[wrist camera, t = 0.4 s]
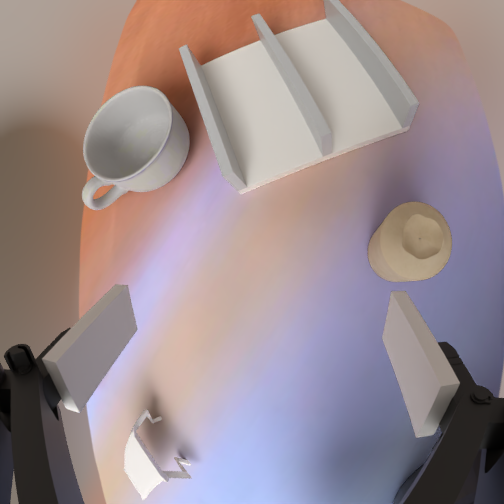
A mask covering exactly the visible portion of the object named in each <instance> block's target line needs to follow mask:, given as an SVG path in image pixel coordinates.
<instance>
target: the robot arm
mask: <svg viewBox="0 0 504 504" xmlns="http://www.w3.org/2000/svg"><path fill="white" fill-rule="evenodd" d="M136 331H137V325H136V321H135V317H134V312H133V308H132V303H131V299H130V294H129V289H128V285H117V284H115V285H114V286H113V287H112V288H111V289H110V290H109V291H108V292H107V293H106V294H105V295H104V296H103V297H102V298H101V299H100V300H99V301H98V302H97V303H96V304H95V305H94V306H93V307H92V308H91V309H90V310H89V311H88V312H87V313H86V314H85V315H84V316H83V317H82V318H81V319H80V320H79V321H78V322H77V323H76V324H75V325H74V326H73V327H72V328H69V329H67V330H65V331H63V332H62V333H61V334H60V335H59V336H58V337H57V338H56V339H55V340H54V341H53V342H52V343H51V344H50V345H49V346H48V347H47V348H46V349H45V350H44V351H43V352H42V353H41V354H40V355H39V356H38V357H37V359H35V358H34V356H33V353H32V351H31V349H30V347H29V346H28V345H26V344H18V345H15V346H13V347H11V348H10V349H9V350H7V351H6V353H5V355H4V358H5V360H6V362H7V364H8V366H9V368H10V370H4V369H3V367H2V365H1V363H0V504H10V499H11V488H12V479H13V471H14V474H15V482H16V489H17V495H18V501H19V504H84V501H83V498H82V495H81V492H80V489H79V486H78V483H77V479H76V476H75V472H74V469H73V465H72V462H71V458H70V454H69V450H68V445H67V441H66V437H65V432H64V427H63V423H62V417H61V412H60V409H59V406H58V405H57V404H58V403H59V401H60V400H61V399H62V401H63V403H64V405H65V407H66V408H67V409H69V410H72V411H75V412H78V413H80V412H81V411H82V409H83V408H84V406H85V405H86V403H87V402H88V400H89V399H90V397H91V396H92V394H93V393H94V391H95V390H96V388H97V387H98V385H99V384H100V382H101V381H102V379H103V378H104V377H105V375H106V374H107V372H108V371H109V369H110V368H111V366H112V365H113V364H114V362H115V361H116V359H117V358H118V356H119V355H120V354H121V352H122V351H123V349H124V348H125V346H126V345H127V344H128V342H129V341H130V339H131V338H132V337H133V335H134V334H135V332H136ZM382 340H383V342H384V345H385V348H386V350H387V353H388V356H389V358H390V361H391V364H392V367H393V369H394V372H395V375H396V378H397V381H398V384H399V386H400V389H401V392H402V395H403V398H404V401H405V404H406V407H407V410H408V414H409V417H410V420H411V423H412V426H413V429H414V433H415V436H416V438H419V437H425V436H431V435H434V434H435V432H436V430H437V428H438V426H440V428H441V431H442V434H441V436H440V437H439V439H438V441H437V442H436V444H435V446H434V447H433V450H432V452H431V454H430V456H429V457H428V459H427V461H426V462H425V464H424V465H422V466H421V467H420V468H419V469H418V470H416V471H415V472H414V473H413V474H412V475H411V476H410V477H409V478H408V479H407V481H406V482H405V483H404V484H403V486H402V487H401V488H400V490H399V492H398V493H397V495H396V497H395V500H394V503H393V504H504V398H495V397H494V396H493V394H492V393H491V392H490V391H489V390H488V389H487V388H485V387H483V386H478V385H476V384H475V382H474V380H473V379H472V377H471V375H470V373H469V372H468V370H467V368H466V367H465V365H464V364H463V362H462V360H461V358H459V355H458V354H457V352H456V350H455V349H454V348H453V347H452V346H451V345H449V344H448V343H447V342H438V343H437V341H436V339H435V338H434V336H433V334H432V333H431V331H430V329H429V328H428V326H427V324H426V323H425V321H424V320H423V318H422V316H421V315H420V313H419V312H418V310H417V308H416V307H415V305H414V304H413V302H412V301H411V299H410V297H409V296H408V294H407V293H406V291H391V295H390V301H389V306H388V311H387V317H386V322H385V326H384V331H383V336H382Z"/></svg>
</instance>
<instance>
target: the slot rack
mask: <svg viewBox="0 0 504 504" xmlns="http://www.w3.org/2000/svg"><path fill="white" fill-rule="evenodd" d="M324 7H325V15H326V19H323V20H320V21H316V22H313V23H309V24H306V25H303V26H300V27H296V28H293V29H290V30H287V31H284V32H281V33H279V34H276V35H274V34H273V33H272V31H271V30H270V28H269V27H268V25H267V24H266V22H265V21H264V19H263V18H262V17H261V15H260V14H256V15H253V16H251V17H252V20H253V23H254V25H255V28H256V30H257V33H258V36H259V38H260V41H257V42H254V43H252V44H249V45H247V46H244V47H242V48H239V49H237V50H235V51H232V52H230V53H228V54H225V55H223V56H221V57H219V58H216V59H214V60H212V61H210V62H208V63H206V64H204V65H200V63H199V62H198V61H197V59H196V58H195V56H194V55H193V53H192V52H191V50H190V49H189V47H188V46H187V45H185V46H183V47H181V48H179V51H180V54H181V57H182V59H183V62H184V65H185V68H186V71H187V74H188V77H189V80H190V83H191V86H192V89H193V92H194V95H195V97H196V100H197V103H198V106H199V109H200V112H201V115H202V118H203V121H204V124H205V127H206V129H207V132H208V135H209V138H210V141H211V144H212V147H213V150H214V153H215V156H216V159H217V161H218V164H219V167H220V170H221V173H222V176H223V177H224V178H225V179H226V180H227V181H228V182H229V183H230V184H231V185H232V186H233V187H234V188H235V189H236V190H237V191H238V192H239V193H240V194H244V193H246V192H248V191H251V190H253V189H256V188H258V187H260V186H263V185H265V184H268V183H270V182H272V181H275V180H277V179H280V178H282V177H285V176H287V175H290V174H292V173H295V172H297V171H300V170H302V169H305V168H307V167H310V166H313V165H315V164H318V163H320V162H323V161H325V160H328V159H331V158H333V157H336V156H339V155H341V154H344V153H347V152H349V151H352V150H355V149H358V148H360V147H363V146H366V145H369V144H371V143H374V142H377V141H380V140H383V139H386V138H388V137H391V136H394V135H397V134H400V133H403V132H406V131H408V130H409V128H410V125H411V123H412V120H413V118H414V115H415V113H416V110H417V108H418V105H419V102H418V100H417V99H416V97H415V96H414V94H413V93H412V91H411V90H410V88H409V87H408V85H407V84H406V82H405V81H404V79H403V78H402V77H401V75H400V74H399V72H398V71H397V70H396V68H395V67H394V66H393V64H392V63H391V61H390V60H389V59H388V58H387V56H386V55H385V54H384V52H383V51H382V50H381V48H380V47H379V46H378V45H377V43H376V42H375V41H374V40H373V39H372V37H371V36H370V35H369V34H368V33H367V31H366V30H365V29H364V28H363V27H362V25H361V24H360V23H359V22H358V21H357V20H356V19H355V18H354V16H353V15H352V14H351V13H350V12H349V11H348V10H347V9H346V8H345V7H344V6H343V5H342V3H341V2H340V1H339V0H324Z"/></svg>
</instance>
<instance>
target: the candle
mask: <svg viewBox="0 0 504 504" xmlns="http://www.w3.org/2000/svg"><path fill="white" fill-rule="evenodd" d="M451 249H452V237H451V232H450V229H449V226H448V224H447V222H446V220H445V219H444V217H443V216H442V215H441V214H440V213H439V212H438V211H437V210H436V209H435V208H433V207H432V206H430V205H428V204H425V203H422V202H407V203H403V204H401V205H399V206H397V207H396V208H394V209H393V210H392V211H391V212H390V213H389V214H388V215H387V217H386V218H385V219H384V221H383V222H382V223H381V225H380V226H379V227H378V229H377V230H376V231H375V233H374V234H373V236H372V237H371V239H370V242H369V245H368V259H369V263H370V265H371V267H372V269H373V270H374V272H375V273H376V274H377V275H378V276H379V277H381V278H383V279H385V280H387V281H391V282H407V281H420V280H426V279H429V278H431V277H433V276H435V275H436V274H438V273H439V272H440V271H441V270H442V269H443V268H444V266H445V265H446V263H447V261H448V259H449V257H450V254H451Z"/></svg>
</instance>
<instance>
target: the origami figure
mask: <svg viewBox="0 0 504 504" xmlns="http://www.w3.org/2000/svg"><path fill="white" fill-rule="evenodd" d="M146 417H148V418H149V420H150V421H151V422H152V424H153V423H155V422H158V421H160V420H162V418H161V416H160V417H157V418H155V419H152V417H151V415H150V413H149V411H148V410H144V411H143V412H142V414H141V415H140V417H139V418H138V420H137V421H136V423H135V425H134V426H133V428H132V431H131V433H130V436H129V439H128V442H127V445H126V447H125V468H124V471H125V472H126V473H127V475H128V477H129V478H130V480H131V481H132V483H133V485H134V486H135V488H136V489H137V491H138V492H139V494H140V495H141V497H142V500H144V499H145V498H146V497H147V496H148V495H149V494H150V492H151V491H152V490H153V489H154V488H155V487H156V486H157V485H158V484H159V483H160V482H161V481H165V482H168V480H169V478H192V477H191V476H190V475H189V474H188V473H187V471H186V470H185V469H184V467H183V466H182V465H181V464H180V463H183V464H186V465H191V464H190V462H189V461H188V460H185V459H181V458H177V457H175V458H174V459H175V460H176V462H177V463H178V465H179V467H180V468H181V470H182V471H183V472H179V471H162V470H161V469H160V467H159V466H158V464H157V463H156V462H155V460H154V459H153V457H152V456H151V454H150V453H149V451H148V450H147V448H146V447H145V445H144V443H143V442H142V440H141V439H140V437H139V436H138V434H137V432H136V430H137V429H138V427H139V426H140V425H141V424H142V422H143V421H144V420H145V418H146Z"/></svg>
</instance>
